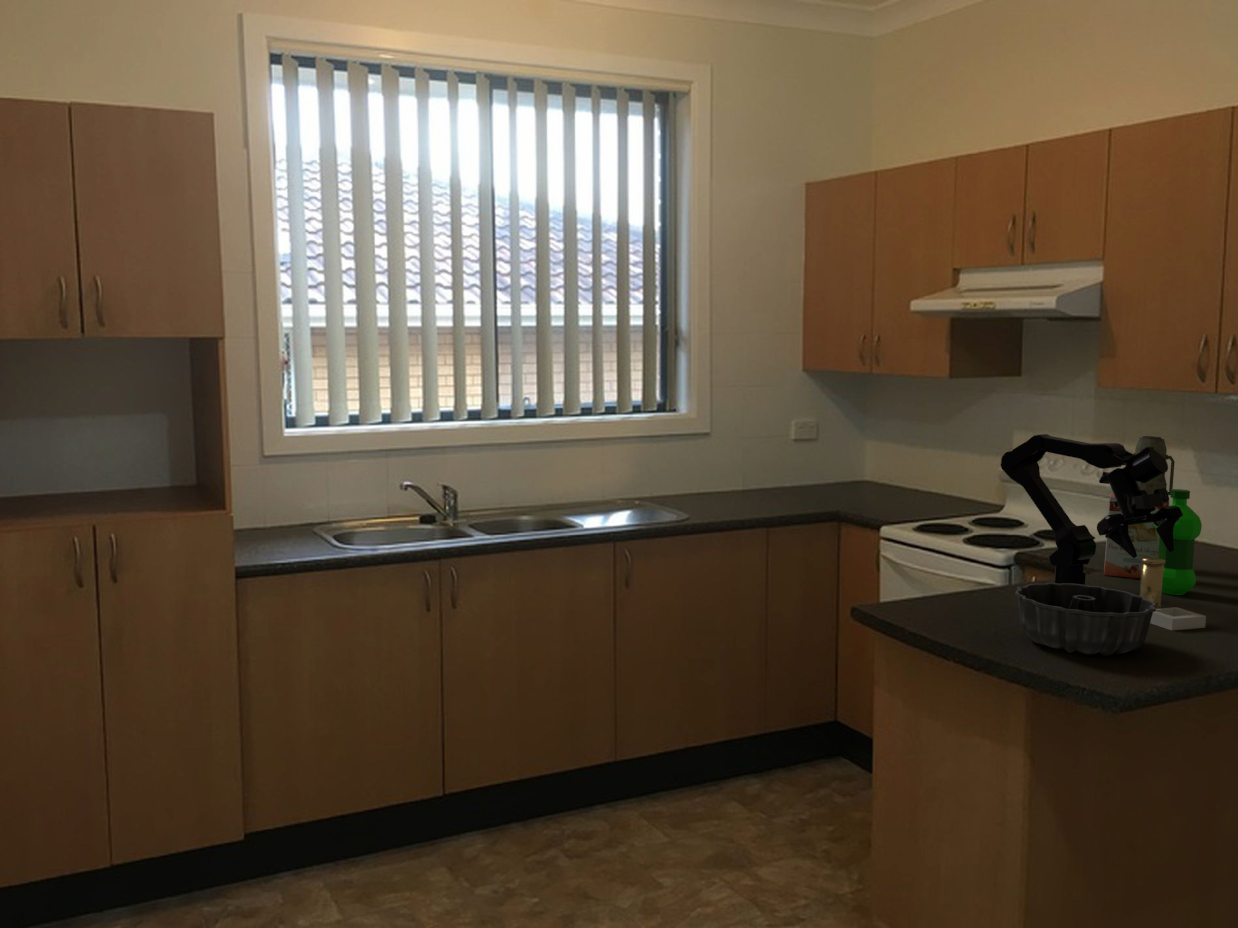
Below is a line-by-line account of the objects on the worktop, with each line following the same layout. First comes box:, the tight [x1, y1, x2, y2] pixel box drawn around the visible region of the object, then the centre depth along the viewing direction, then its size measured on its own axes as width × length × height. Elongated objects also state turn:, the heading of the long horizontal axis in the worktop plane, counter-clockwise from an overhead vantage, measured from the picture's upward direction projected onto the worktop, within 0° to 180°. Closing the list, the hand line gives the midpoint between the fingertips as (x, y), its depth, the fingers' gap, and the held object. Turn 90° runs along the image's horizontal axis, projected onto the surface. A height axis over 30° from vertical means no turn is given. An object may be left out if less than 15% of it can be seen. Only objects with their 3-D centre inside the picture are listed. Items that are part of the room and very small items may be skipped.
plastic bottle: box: [1155, 488, 1203, 596], centre depth 286 cm, size 10×10×25 cm
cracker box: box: [1103, 493, 1170, 580], centre depth 304 cm, size 14×6×21 cm, turn 68°
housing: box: [1150, 606, 1207, 631], centre depth 256 cm, size 8×9×2 cm
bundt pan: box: [1014, 582, 1156, 657], centre depth 238 cm, size 26×26×10 cm
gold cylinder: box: [1139, 556, 1166, 609], centre depth 262 cm, size 5×5×13 cm
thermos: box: [1124, 435, 1176, 496], centre depth 315 cm, size 9×12×35 cm
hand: (1153, 554), depth 267 cm, fingers open, 9 cm apart
